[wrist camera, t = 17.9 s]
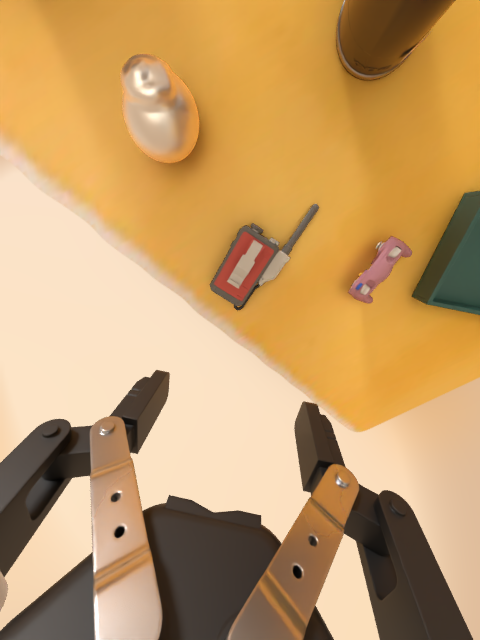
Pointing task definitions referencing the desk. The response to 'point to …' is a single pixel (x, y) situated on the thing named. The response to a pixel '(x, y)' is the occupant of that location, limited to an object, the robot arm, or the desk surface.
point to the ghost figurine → (158, 109)
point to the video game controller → (379, 268)
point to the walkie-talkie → (253, 262)
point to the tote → (456, 262)
